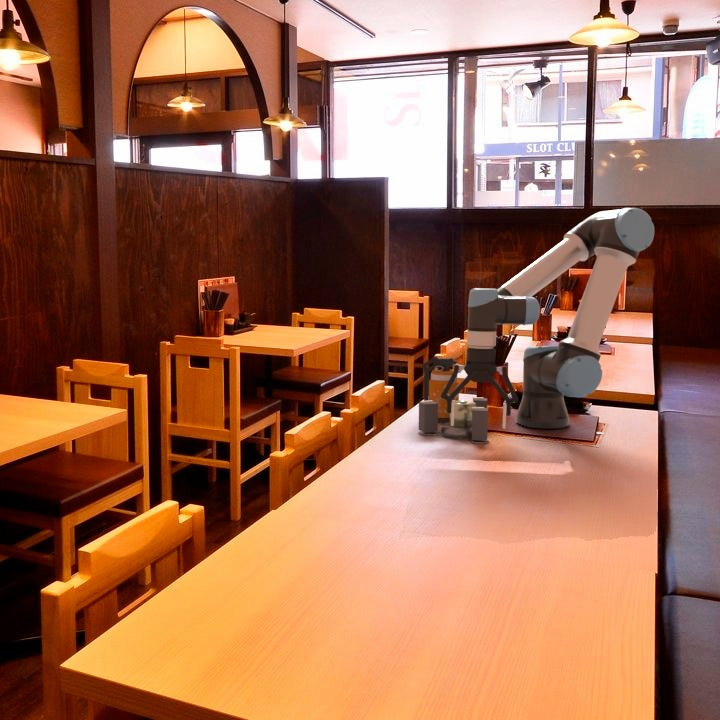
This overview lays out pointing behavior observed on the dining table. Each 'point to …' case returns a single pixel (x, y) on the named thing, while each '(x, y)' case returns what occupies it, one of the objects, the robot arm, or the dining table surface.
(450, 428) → the tribrach
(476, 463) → the dining table surface
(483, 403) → the knob
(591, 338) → the robot arm
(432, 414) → the grey upright block
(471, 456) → the dining table surface
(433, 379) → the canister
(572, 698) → the dining table surface
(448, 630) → the dining table surface
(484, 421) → the gray rectangular block
